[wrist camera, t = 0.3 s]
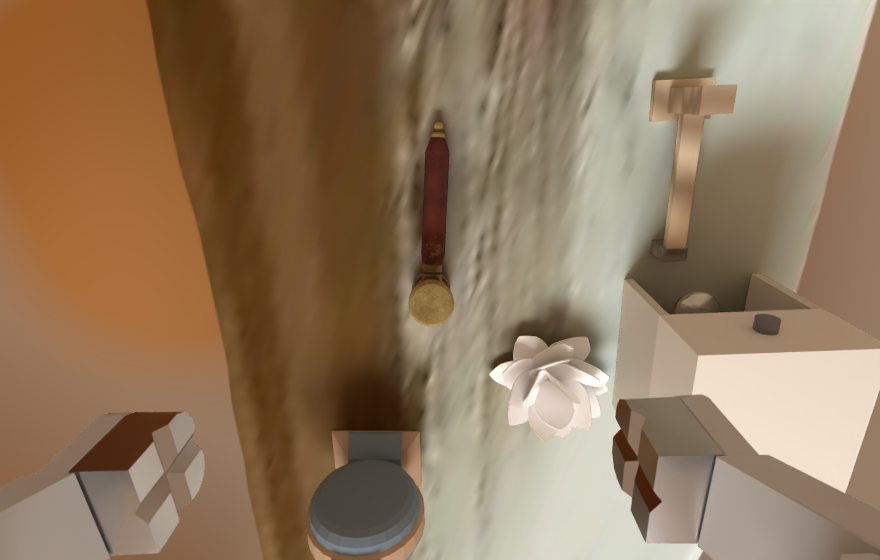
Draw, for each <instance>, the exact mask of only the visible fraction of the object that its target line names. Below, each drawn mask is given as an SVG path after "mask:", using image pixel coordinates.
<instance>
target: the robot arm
mask: <svg viewBox="0 0 880 560" xmlns="http://www.w3.org/2000/svg"><path fill="white" fill-rule="evenodd" d="M615 418H616V420H617V422H618V424H619V426H620V428H621V429H620V430H619V431H618V433H617V434H616V435H615V436H614V437H613V448H612V454H613V463H614V469H615V473H616V476H617V479H618V482H619V484H620V486H621V489H622V490H623V491H624V492H626V493H627V494H628V495H630V496H631V497H632V505H631V512H632V514H633V516H634V518H635V520H636V523H637V525H638V527H639V529H640V531H641V534H642V536H643V538H644V540H645V543H698V547H699V548H701V549H702V550H703V551H704V552H705V553H706V554H707V555H709V556H710V557H711V558H712V559H713V560H880V511H879V510H877V509H875V508H873V507H871V506H869V505H867V504H865V503H863V502H861V501H859V500H858V499H856V498H854V497H851V496H850V495H848V494H846V493H844V492H842V491H840V490H838V489H836V488H834V487H832V486H830V485H828V484H826V483H824V482H822V481H820V480H818V479H816V478H814V477H812V476H810V475H808V474H806V473H804V472H802V471H800V470H798V469H796V468H794V467H792V466H790V465H788V464H786V463H784V462H782V461H780V460H778V459H776V458H774V457H772V456H770V455H759V454H758V453H757V452H756V451H755V449H754V448H753V447H752V446H751V445H750V444H749V443H748V442H747V440H746V439H745V438H744V437H743V436H742V435H741V434H740V432H739V431H738V430H737V429H736V428H735V427H734V426H733V424H732V423H731V422H730V421H729V420H728V419H727V418H726V416H725V415H724V414H723V413H722V412H721V411H720V410H719V409H718V407H717V406H716V405H715V404H714V403H713V402H712V401H711V399H710V398H709V397H707V396H705V395H703V394H699V395H683V396H674V397H657V398H632V399H619V402H618V404H617V408H616V416H615ZM195 430H196V429H195V426H194V423H193V420H192V417H191V415H189V414H187V413H185V412H134V413H131V412H123V413H108V414H104V415H101V416H99V417H98V418H97V419H96V420H95V421H94V422H92V423H91V424H90V425H89V426H88V427H87V428H86V429H85V430H84V431H83V432H82V433H80V434H79V435H78V436H77V437H76V438H75V439H74V440H73V441H72V442H70V443H69V444H68V445H67V446H66V447H65V448H64V449H63V450H62V451H60V453H58V454H57V455H56V456H55V457H54V458H53V459H52V460H51V461H49V462H48V463H47V464H46V465H45V466H44V467H43V468H42V469H41V470H39V472H37V473H36V474H27V475H24V476H22V477H21V478H18V479H16V480H14V481H12V482H10V483H8V484H6V485H4V486H2V487H0V560H108V559H110V555H128V554H149V553H159V552H160V550H161V549H162V547H163V546H164V544H165V543H166V541H167V540H168V538H169V536H170V535H171V533H172V532H173V530H174V528H175V527H176V525H177V524H178V522H179V521H180V519H179V514H178V510H179V509H180V508H182V507H183V506H185V505H186V504H188V503H189V502H191V501H192V500H193V499H194V497H195V495H196V494H197V492H198V490H199V489H200V486H201V482H202V479H203V475H204V471H205V470H204V456H203V453H202V449H201V448H200V447H199V446H198V445H197V444H196V443H194V442H193V441H192V440H191V438H192V436H193V434H194V432H195Z"/></svg>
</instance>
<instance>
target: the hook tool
mask: <svg viewBox="0 0 880 560" xmlns="http://www.w3.org/2000/svg"><path fill="white" fill-rule="evenodd" d="M715 80H716V77H708V78H690V79H672V80H655V81H653V84H652V94H651V104H650V113H649V121H650V122H656V121H674V120H679V121H678V129H677V137H676V145H675V153H674V162H673V170H672V178H671V186H670V194H669V202H668V210H667V218H666V227H665V235H664V240H652V243H651V251H650V253H652V254H653V255H654V256H656V257H657V258H658V259H660V260H661V261H662V262H678V261H686V257H687V250H688V248H687V247H686V241H687V234H688V227H689V220H690V213H691V206H692V199H693V191H694V184H695V177H696V170H697V163H698V156H699V149H700V142H701V135H702V128H703V121H704V119H710V115H711V114H727V113H733V108H734V102H735V95H736V89H737V85H718V86H715Z"/></svg>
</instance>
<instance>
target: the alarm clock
mask: <svg viewBox="0 0 880 560" xmlns="http://www.w3.org/2000/svg"><path fill="white" fill-rule="evenodd" d="M332 440H333V450H334V459H335V468H336V470H335V471H333V472H332V473H330V474H329V475H328V476H327V477H326V478H325V479H324V480H323V481H322V483H321V484H320V485H319V486H318V488H317V489H316V491H315V493H314V495H313V497H312V499H311V503H310V505H309V507H308V511H307V516H306V528H307V535H308V541H309V548H310V550H311V552H312V554H313V556H314V557H315V559H316V560H408V559H409V558H410V557H411V556H412V554H413V552H414V550H415V548H416V547H417V545H418V543H419V541H420V539H421V537H422V534H423V529H424V524H425V518H424V502H423V497H422V494H421V492H420V490H419V488H418V487H421V455H420V431H342V430H332Z"/></svg>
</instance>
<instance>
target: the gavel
mask: <svg viewBox="0 0 880 560" xmlns="http://www.w3.org/2000/svg"><path fill="white" fill-rule="evenodd" d="M434 130H435V132H434V133H432V134H431V138H430V141H429V144H428V146H427V149H426V152H425V176H424V201H423V226H422V250H421V253H422V261H423V271H424V273H422V274H420V275H419V276H418V277H417V278H416V279H415V281H414V283H413V285H412V291H411V294H410V297H409V310H410V313H411V315H412V317H413V318H414V319H415V320H416V321H417V322H418V323H420V324H422V325H425V326H437V325H440V324H442V323H444V322H445V321H447V320H448V319H449V317H450V316H451V314H452V312H453V309H454V299H453V295H452V293H451V291H450V286H449V283H448V281H447V279H446V278H445V277H444V276H443V275H442V274H440V272H442V263H443V259H444V254H445V234H446V212H447V191H448V169H449V150H448V147H447V143H446V139H445V134H444V133H442V130H443V124H442V123H441V122H435V124H434Z"/></svg>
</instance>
